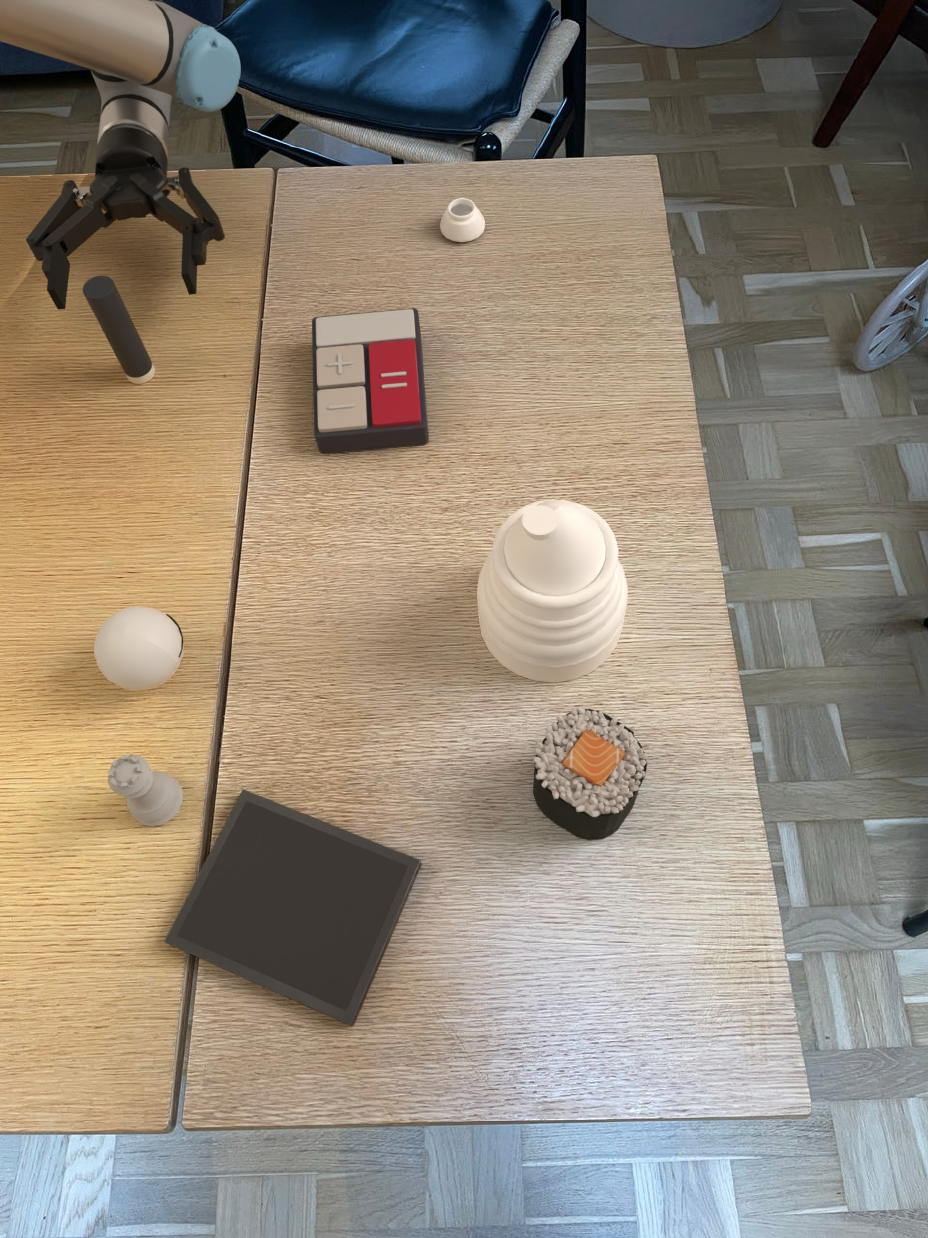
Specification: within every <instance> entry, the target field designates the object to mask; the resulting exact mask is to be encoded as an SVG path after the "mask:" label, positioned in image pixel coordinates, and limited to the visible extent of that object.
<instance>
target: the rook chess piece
mask: <svg viewBox="0 0 928 1238" xmlns="http://www.w3.org/2000/svg"><path fill="white" fill-rule="evenodd" d="M110 765H111V766H110V768H109V769H108V770H107V784H108V786H109V788H110V790H112V791H113V792H114V793H115V794H117V795H122V796H124V797H125V798H126V806H127V809H128V811H129V813H130V815H131V816H132V817H133V818H134V819H135V820H136V821H137V822H139V823H140V824H141V825H145V826H150V827H154V826H161V825H163V824H166V823H167V822H168V821H170V820H172V819H173V818H174V817H175V816H176V815H177V813H178V812H179V811H180V809H181V806H182V803H183V800H184V795H183V794H184V793H183V792H184V791H183V788H182V786H181V784H180V782H179V781H178V780H177V779H175V778H174V777H173V776H172V775H170V774H169V773H168V772H164V771H159V770H153V771H152V769H151V768H150V765H149V763H148V761H147V759H145V758H144V757H142V755H138V754H134V753H132V754H124V755H120V757H119V758H117V759H113V760H112V762H111V763H110Z"/></svg>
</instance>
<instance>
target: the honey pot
mask: <svg viewBox="0 0 928 1238" xmlns="http://www.w3.org/2000/svg"><path fill="white" fill-rule="evenodd" d="M617 542H618V541H617V539H616V534H614V531H613V530H612V528H611V526H610V525H609V524H608V522H607V521H606V520H605V519H604V518H603V517H602V516H600V514H599V513H598V512H596V511H595V510H593V509H591V508H589V507H587V506H586V505H584V504H583V503H582V504H581V503H578V502H574V501H571V500H567V499H555V498H554V499H553V498H551V499H544V500H537V501H534V502H530V503H528V504H526V505H523V506H521V507H519V508H518V509H517V510H515V511H514V512H512V513H510V515H508V516H507V517H506V519H505V520H504V521H503V522H502V523H501V525H500V526H499V527H498V529H497V531H496V534H495V536H494V538H493V541H492V548H491V552H490V553H489V554H488V556H486V558H485V560H484V563H483V565H482V568H481V570H480V572H479V575H478V579H477V580H478V581H477V588H476V597H477V598H476V600H477V601H476V603H477V614H478V622H479V623H478V624H479V629H480V634H481V637H482V640H483V641H484V644H485V646H486V648H487V650H488V652H489V653H490V654H491V655H492V656H493V657H494V658H495V659H496V660H497V661H498V663H499V664H500V665H501V666H503V667H505V669H507V670H509V671H511V672H512V673H514V674H515V675H517V676H519V677H523V678H526V679H529V680H531V681H534V682H543V683H544V682H545V683H561V682H566V681H567V682H568V681H574V680H576V679H579V678H581V677H584V676H585V675H588V674H590V673H593V672H594V671H595V670H596V669H598V668H599V667H600V666H601V665H603V664H604V663H605V662H606V661H607V660H608V659H609V657H610V656H611V654H612V653H613V652H614V650H615V649H616V648H617V646H618V643H619V640H620V637H621V635H622V632H623V627H624V621H625V618H626V612H627V606H628V597H629V596H628V594H629V586H628V582H627V578H626V574H625V570H624V566H623V565H622V563H621V562H620V560H619V552H620V551H619V546H618V543H617Z"/></svg>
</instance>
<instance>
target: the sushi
mask: <svg viewBox="0 0 928 1238" xmlns="http://www.w3.org/2000/svg"><path fill="white" fill-rule="evenodd" d="M555 718H556V721H557V722H552V724H551V725H550V726H549V725H547V726H546V727H545V731H546V732H544V739H542V741H539V742H538V741H537V743H536V748H535V749H534V754H535V756H534V757H533V761H532V762H533V764H534V767H533V783H532V784H533V785H532V786H533V787H532V793H533V794H532V795H533V797H534V801H535V803H536V806H537V808H538V809H539V810H540V812H541V813H542V814H543V815H544V816H545V817H546V818H547V819H549V820H550V821H551V822H552V823H554V824H555V825H556V826H558V827H560V828H561V829H563V830H565V831H566V832H567V833H569V834H571V835H572V836H574V837H576V838H579V839H583V840H587V841H596V840H604V839H606V838H608V837H610V836H613V835H614V834H615V833H616V832H617V831H618V830H620V828H621V826H622V825H623V823H624V822H625V820H626V819H627V817H628V816H629V814H631V811H632V810H633V808H634V805H635V803H636V801H637V797H638V794H639V791H640V788H641V786H642V783H643V781H644V779H645V778H646V775H647V769H648V762H647V761H648V760H647V759H648V758H649V754H647V753H646V752H645V750H644V748H643V746H642V744H641V743H640V741H638V739H637V738H636V737H635V736H634V734H635V732H634V731H633V730H632V729H631V728H629V727H627V726H626V724H625V725H624V723H622V722H620V721H618V718H617V717H614V718H613V717H612V716H610V715H608V714H606V713H604V712H603V711H600V710H597V709H596V710H595V709H593V708H583V707H581V706H577V707H576V709H575V708H571V710H570V712H567V713H566V714H565V715H560V714H558V715H556V717H555Z"/></svg>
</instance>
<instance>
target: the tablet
mask: <svg viewBox="0 0 928 1238" xmlns="http://www.w3.org/2000/svg"><path fill="white" fill-rule="evenodd" d="M422 865H423V863H422V860H420V859H418V858H416V857H413V856H411V855H409V854H406V853H403V852H401V851H399V850H396V849H393V848H392V847H388V846H386V845H383V844H382V843H379V842H377V841H374V840H370V839H368V838H366V837H364V836H361V835H358V834H356V833H354V832H351V831H348V830H346V829H343V828H341V827H338V826H336V825H333V824H331V823H329V822H326V821H323V820H321V819H318V818H316V817H313V816H311V815H308V814H306V813H303V812H301V811H298V810H296V809H293V808H291V807H288V806H286V805H283V804H281V803H278V802H276V801H273V800H271V799H269V798H266V797H263V796H261V795H258V794H256V793H254V792H251V791H248V790H246V789H242V790H241V791H240V794H239V795H238V797H237V799H236V801H235V803H234V805H233V807H232V809H231V811H230V813H229V815H228V817H227V819H226V821H225V822H224V825H223V826H222V829H221V830H220V833H219V835H218V836H217V838H216V840H215V842H214V843H213V846H212V848H211V849H210V851H209V854H208V856H207V857H206V859H205V860H204V863H203V865H202V866H201V869H200V871H199V873H198V875H197V877H196V879H195V881H194V882H193V884H192V886H191V888H190V890H189V892H188V894H187V896H186V898H185V900H184V902H183V903H182V905H181V907H180V909H179V911H178V913H177V915H176V917H175V919H174V921H173V923H172V925H171V927H170V929H169V931H168V932H167V934H166V936H165V938H164V940H163V943H165V944H167V945H169V946H171V947H172V948H175V949H178V950H180V951H182V952H184V953H187V954H189V955H191V956H193V957H196V958H198V959H199V960H202V961H204V962H207V963H209V964H211V965H213V966H216V967H218V968H220V969H222V970H225V971H226V972H227V971H228V972H229V973H232V974H233V975H236V976H238V977H240V978H242V979H245V980H247V981H249V982H251V983H254V984H256V985H259V986H260V987H263V988H264V989H267V990H269V991H272V992H274V993H276V994H279V995H280V996H282V997H285V998H287V999H289V1000H292V1001H293V1002H297V1003H299V1004H301V1005H303V1006H305V1007H307V1008H310V1009H312V1010H314V1011H316V1012H318V1013H321V1014H323V1015H325V1016H327V1017H330V1018H332V1019H334V1020H337V1021H339V1022H342V1023H344V1024H346V1025H348V1026H350V1027H354V1026H355V1024H356V1022H357V1019H358V1016H359V1014H360V1012H361V1010H362V1007H363V1005H364V1003H365V1000H366V998H367V996H368V993H369V992H370V989H371V986H372V984H373V982H374V979H375V976H376V974H377V972H378V969H379V967H380V965H381V962H382V960H383V958H384V956H385V953H386V950H387V948H388V946H389V943H390V942H391V939H392V936H393V934H394V931H395V929H396V927H397V925H398V922H399V920H400V917H401V915H402V913H403V910H404V908H405V905H406V903H407V901H408V898H409V896H410V894H411V891H412V889H413V886H414V884H415V882H416V879H417V877H418V874H419V873H420V870H421V868H422Z"/></svg>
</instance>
